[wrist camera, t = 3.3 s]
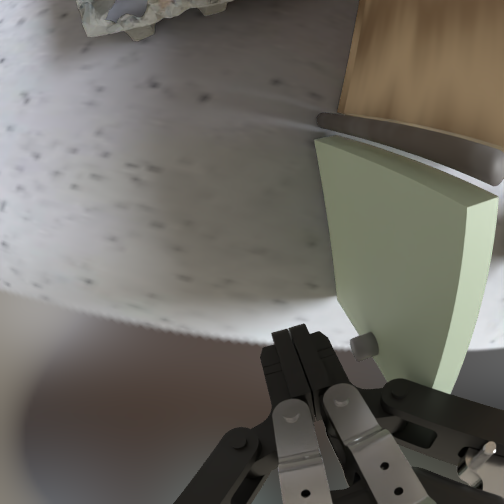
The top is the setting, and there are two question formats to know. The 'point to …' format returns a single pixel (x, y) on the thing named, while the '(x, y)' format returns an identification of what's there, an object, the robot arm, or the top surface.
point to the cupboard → (428, 82)
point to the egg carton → (158, 6)
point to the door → (406, 258)
